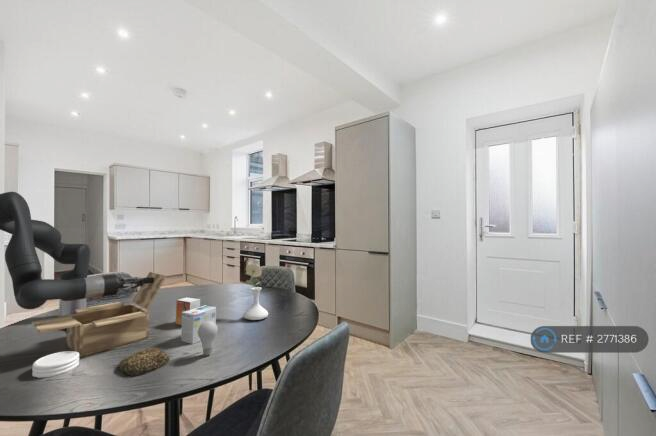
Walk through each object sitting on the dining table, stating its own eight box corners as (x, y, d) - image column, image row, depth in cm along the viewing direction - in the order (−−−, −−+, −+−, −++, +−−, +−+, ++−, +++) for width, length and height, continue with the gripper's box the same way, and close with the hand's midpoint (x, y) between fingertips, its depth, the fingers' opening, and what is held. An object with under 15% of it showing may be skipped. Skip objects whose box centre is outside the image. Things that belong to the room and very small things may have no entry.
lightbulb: (204, 361, 90) (205, 325, 90) (193, 356, 93) (193, 322, 93) (221, 353, 95) (221, 320, 95) (209, 349, 98) (210, 317, 98)
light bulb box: (204, 331, 114) (204, 304, 115) (216, 334, 111) (217, 306, 112) (180, 341, 105) (180, 311, 105) (192, 344, 102) (193, 314, 102)
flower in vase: (273, 317, 133) (274, 263, 134) (255, 324, 124) (256, 266, 124) (253, 312, 140) (254, 261, 141) (235, 318, 131) (236, 263, 131)
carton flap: (131, 301, 116) (149, 271, 121) (133, 302, 116) (151, 272, 122) (146, 308, 107) (164, 275, 113) (148, 308, 108) (166, 276, 113)
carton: (27, 349, 96) (28, 317, 96) (126, 325, 119) (127, 300, 120) (42, 374, 81) (44, 336, 81) (154, 341, 104) (155, 312, 104)
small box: (175, 324, 122) (176, 299, 122) (186, 320, 127) (186, 296, 127) (189, 327, 119) (189, 301, 119) (199, 323, 124) (200, 298, 124)
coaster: (23, 381, 77) (24, 368, 77) (43, 365, 86) (43, 353, 86) (70, 374, 81) (71, 362, 81) (84, 359, 90) (84, 348, 90)
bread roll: (127, 381, 78) (127, 363, 78) (115, 366, 86) (115, 349, 86) (176, 364, 88) (176, 348, 88) (161, 352, 96) (161, 337, 96)
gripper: (106, 278, 98) (160, 272, 112) (94, 273, 106) (146, 268, 120) (105, 300, 97) (159, 291, 111) (93, 294, 105) (145, 286, 119)
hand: (152, 279), depth 115 cm, fingers closed
